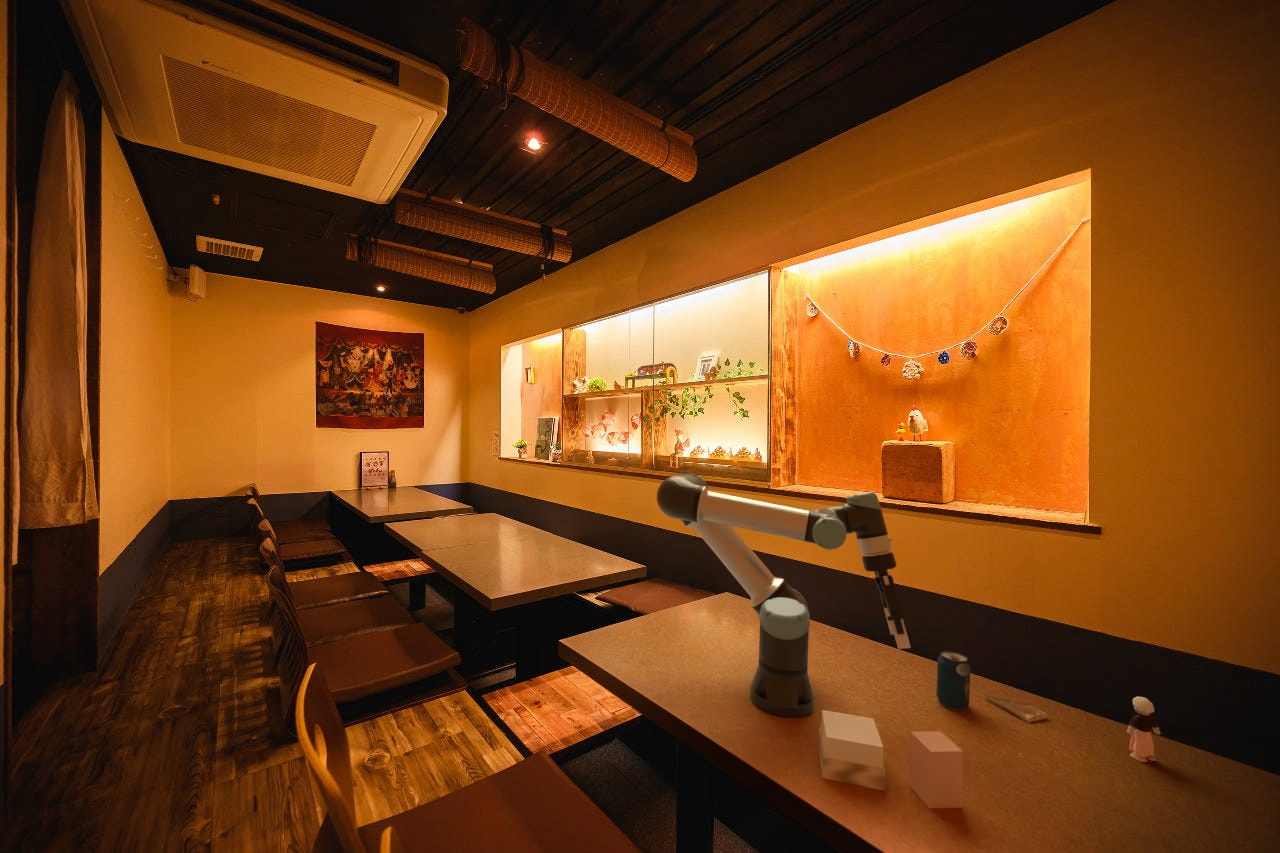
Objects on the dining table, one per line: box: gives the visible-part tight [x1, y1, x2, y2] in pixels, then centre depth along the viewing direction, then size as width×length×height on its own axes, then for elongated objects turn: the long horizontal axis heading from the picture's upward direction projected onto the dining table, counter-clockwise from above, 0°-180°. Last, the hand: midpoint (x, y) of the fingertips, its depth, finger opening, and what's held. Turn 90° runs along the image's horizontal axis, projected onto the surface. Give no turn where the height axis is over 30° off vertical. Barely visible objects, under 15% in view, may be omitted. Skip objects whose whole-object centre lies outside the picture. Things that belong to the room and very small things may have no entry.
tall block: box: [908, 730, 964, 809], centre depth 93 cm, size 6×6×10 cm
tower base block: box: [817, 726, 887, 792], centre depth 100 cm, size 11×11×4 cm
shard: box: [983, 695, 1048, 723], centre depth 125 cm, size 11×8×2 cm
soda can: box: [936, 650, 971, 711], centre depth 126 cm, size 7×7×12 cm
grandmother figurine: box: [1126, 696, 1161, 763], centre depth 106 cm, size 8×4×13 cm, turn 110°
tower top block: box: [820, 709, 884, 769], centre depth 100 cm, size 10×10×4 cm
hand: (900, 640), depth 125 cm, fingers open, 13 cm apart
